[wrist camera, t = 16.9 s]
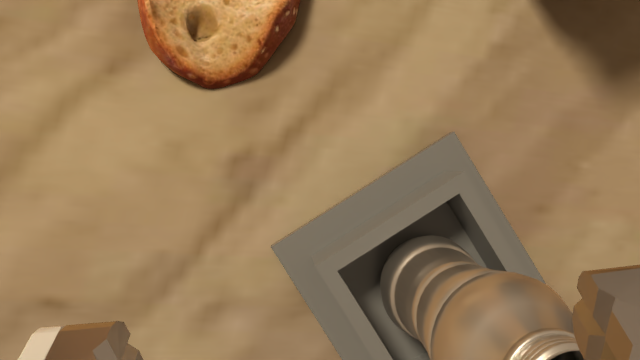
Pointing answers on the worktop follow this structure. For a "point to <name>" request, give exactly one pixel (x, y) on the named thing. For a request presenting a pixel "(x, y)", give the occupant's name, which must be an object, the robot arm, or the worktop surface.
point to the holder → (394, 246)
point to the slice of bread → (216, 36)
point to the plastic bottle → (473, 306)
